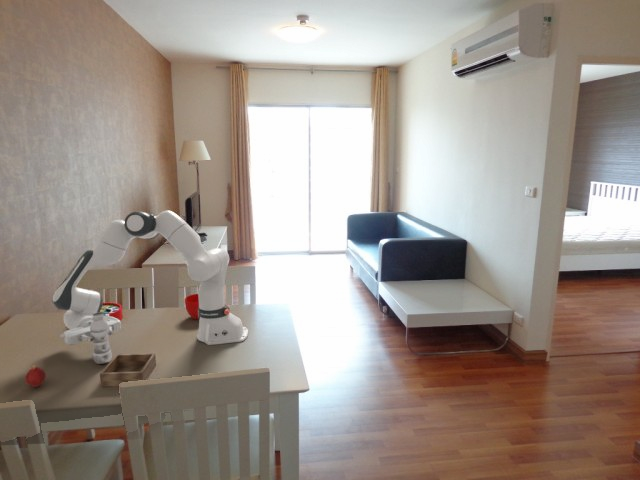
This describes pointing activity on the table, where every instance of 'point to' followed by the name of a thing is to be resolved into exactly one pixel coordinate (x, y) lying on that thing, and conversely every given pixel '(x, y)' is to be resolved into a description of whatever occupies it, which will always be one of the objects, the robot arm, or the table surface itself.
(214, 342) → the robot arm
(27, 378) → the red pomegranate
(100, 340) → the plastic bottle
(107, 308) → the toy clock
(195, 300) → the ceramic cup
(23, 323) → the table surface
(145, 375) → the box
